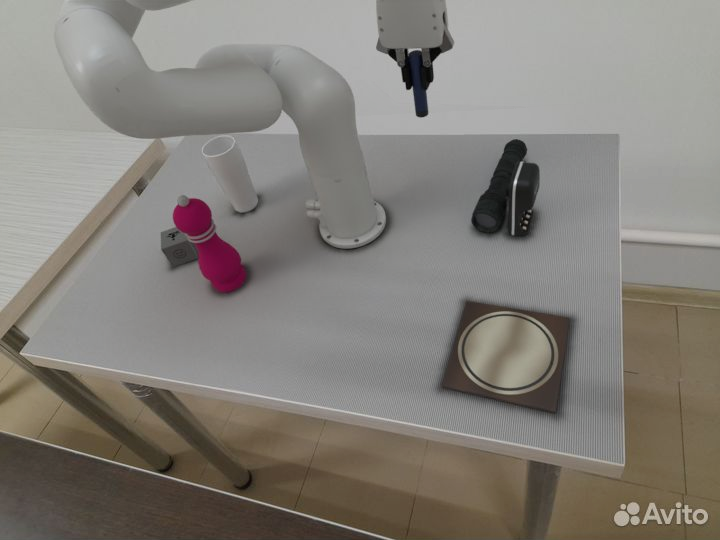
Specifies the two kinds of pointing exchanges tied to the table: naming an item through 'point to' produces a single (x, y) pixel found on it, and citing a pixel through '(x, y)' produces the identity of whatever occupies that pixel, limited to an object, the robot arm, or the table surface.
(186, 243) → the grey toy cube
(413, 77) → the cylinder
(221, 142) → the drinking glass
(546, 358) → the brown square board
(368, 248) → the table surface
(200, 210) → the pepper mill
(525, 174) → the battery charger
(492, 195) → the flashlight
